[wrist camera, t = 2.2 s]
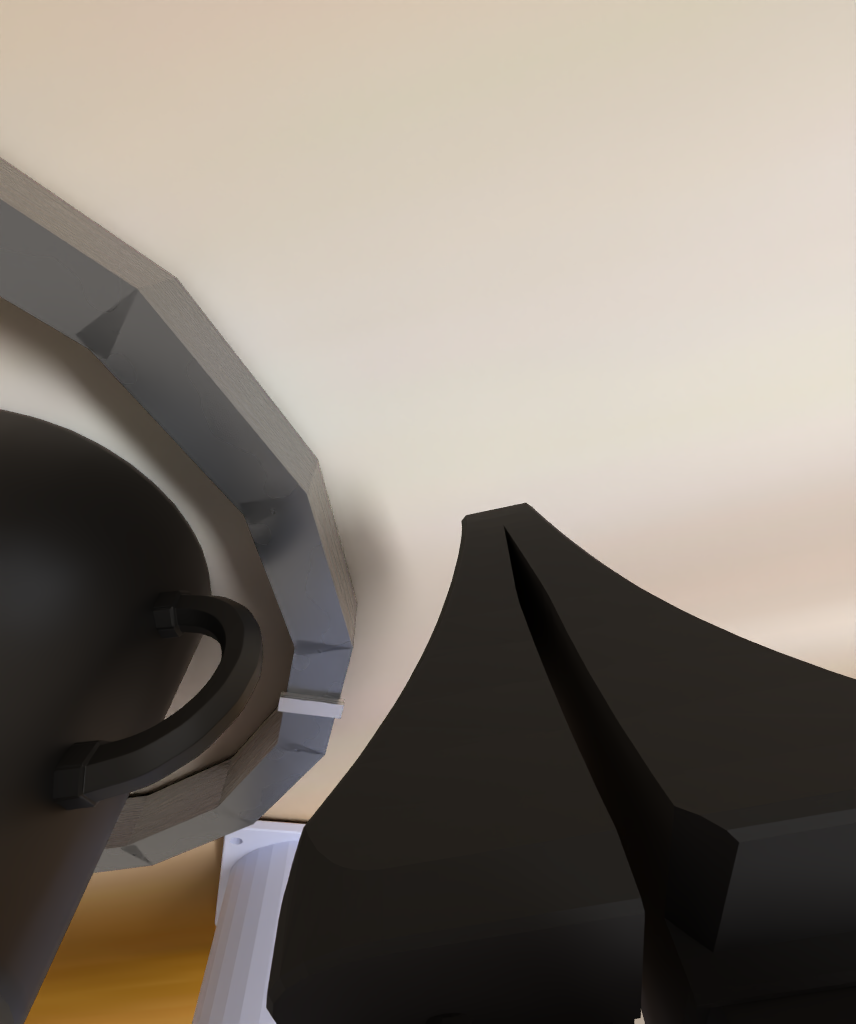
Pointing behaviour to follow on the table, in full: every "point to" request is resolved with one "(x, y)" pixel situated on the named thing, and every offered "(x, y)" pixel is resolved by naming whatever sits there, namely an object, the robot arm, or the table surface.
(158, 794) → the ring
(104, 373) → the table surface
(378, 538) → the table surface
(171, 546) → the mug
